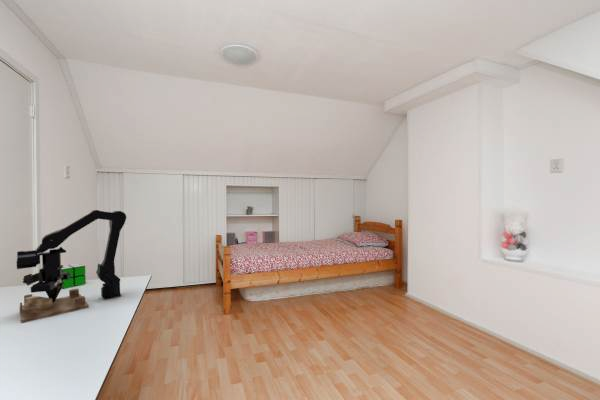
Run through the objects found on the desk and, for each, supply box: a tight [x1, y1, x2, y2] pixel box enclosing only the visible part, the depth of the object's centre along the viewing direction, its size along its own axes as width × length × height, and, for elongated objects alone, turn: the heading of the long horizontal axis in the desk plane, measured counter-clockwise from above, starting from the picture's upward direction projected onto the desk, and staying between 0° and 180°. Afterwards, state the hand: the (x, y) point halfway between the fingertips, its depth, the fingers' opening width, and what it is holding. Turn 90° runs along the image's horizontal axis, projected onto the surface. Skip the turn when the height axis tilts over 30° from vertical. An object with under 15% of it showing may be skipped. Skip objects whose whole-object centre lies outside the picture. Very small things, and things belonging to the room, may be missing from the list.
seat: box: [19, 288, 90, 324], centre depth 118 cm, size 20×20×4 cm
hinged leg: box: [23, 294, 52, 310], centre depth 116 cm, size 14×3×4 cm, turn 71°
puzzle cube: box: [59, 263, 87, 290], centre depth 151 cm, size 10×10×10 cm
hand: (52, 302), depth 118 cm, fingers closed
